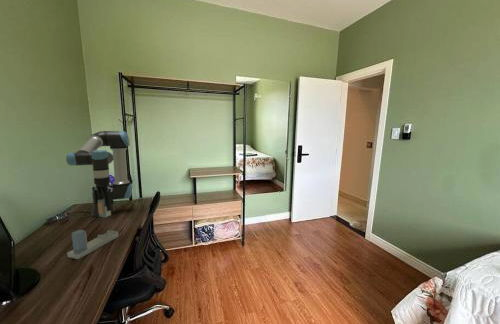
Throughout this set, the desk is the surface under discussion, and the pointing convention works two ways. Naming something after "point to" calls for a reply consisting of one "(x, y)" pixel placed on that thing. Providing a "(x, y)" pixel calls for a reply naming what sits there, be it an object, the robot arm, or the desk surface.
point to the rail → (89, 243)
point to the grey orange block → (101, 208)
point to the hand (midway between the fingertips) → (105, 215)
